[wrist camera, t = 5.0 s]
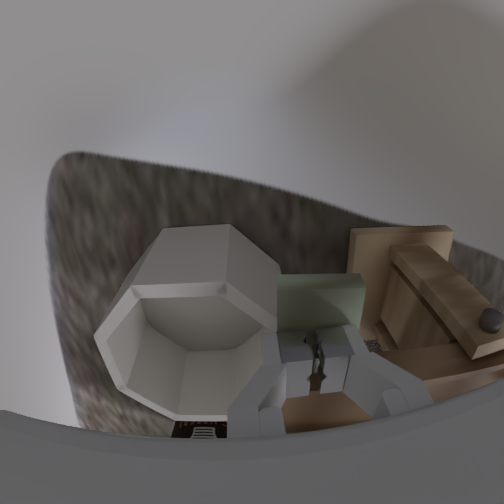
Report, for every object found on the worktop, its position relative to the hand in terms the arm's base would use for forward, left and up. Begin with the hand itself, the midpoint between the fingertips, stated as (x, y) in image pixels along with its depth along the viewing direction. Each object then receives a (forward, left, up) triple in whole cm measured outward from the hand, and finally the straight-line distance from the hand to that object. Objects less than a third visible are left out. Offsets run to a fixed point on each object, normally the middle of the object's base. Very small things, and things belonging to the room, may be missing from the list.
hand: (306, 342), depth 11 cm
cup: (+5, +4, -10) cm, 12 cm away
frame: (-9, +4, -10) cm, 14 cm away
